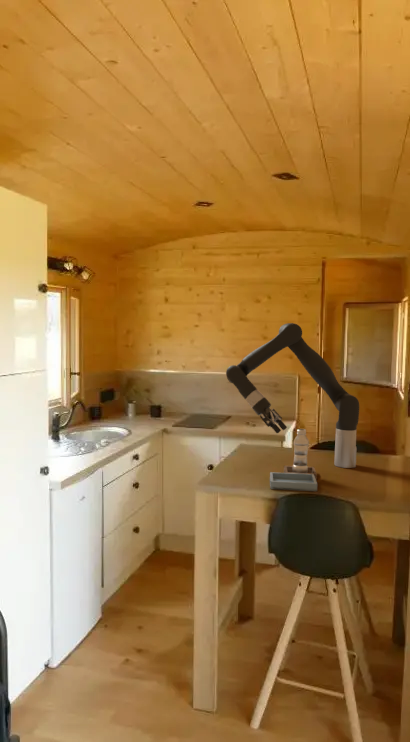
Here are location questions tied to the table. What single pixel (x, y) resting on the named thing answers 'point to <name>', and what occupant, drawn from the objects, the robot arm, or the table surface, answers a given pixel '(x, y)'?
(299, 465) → the plastic bottle
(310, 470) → the walnut holder
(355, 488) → the table surface
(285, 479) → the slate tray
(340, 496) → the table surface
